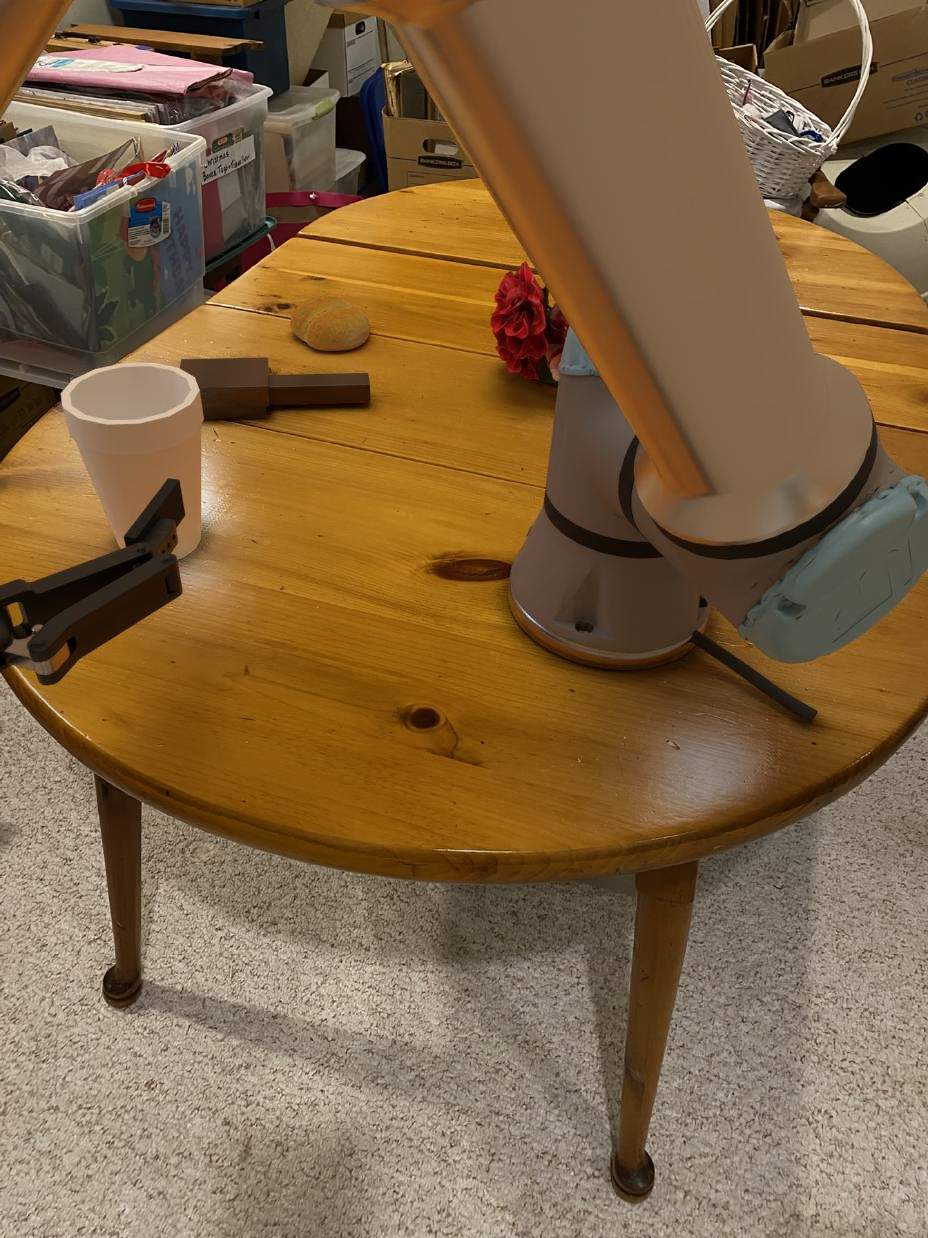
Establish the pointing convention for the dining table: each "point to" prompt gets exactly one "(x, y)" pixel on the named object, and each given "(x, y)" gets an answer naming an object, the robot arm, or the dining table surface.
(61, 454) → the dining table surface
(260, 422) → the dining table surface
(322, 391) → the brush
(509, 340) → the carnation
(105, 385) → the foam cup
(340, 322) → the bread roll
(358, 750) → the dining table surface
